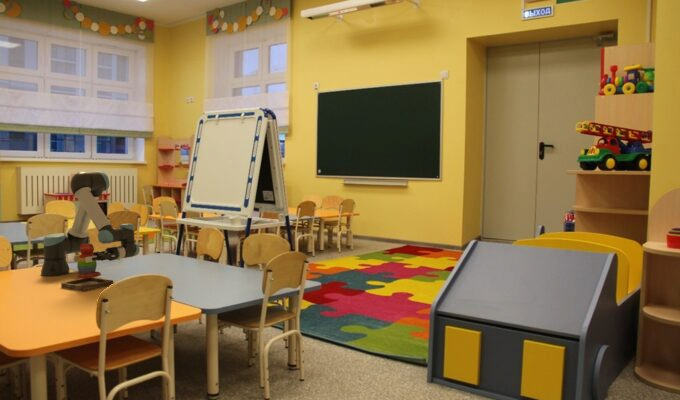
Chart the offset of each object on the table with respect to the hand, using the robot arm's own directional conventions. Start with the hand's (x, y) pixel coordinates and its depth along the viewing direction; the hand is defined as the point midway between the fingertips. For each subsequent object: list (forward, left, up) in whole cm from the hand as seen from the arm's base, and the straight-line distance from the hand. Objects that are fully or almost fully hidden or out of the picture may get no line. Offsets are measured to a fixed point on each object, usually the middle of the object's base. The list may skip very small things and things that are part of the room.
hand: (79, 259), depth 291 cm
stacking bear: (0, +5, -10) cm, 11 cm away
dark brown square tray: (0, +5, -15) cm, 16 cm away
